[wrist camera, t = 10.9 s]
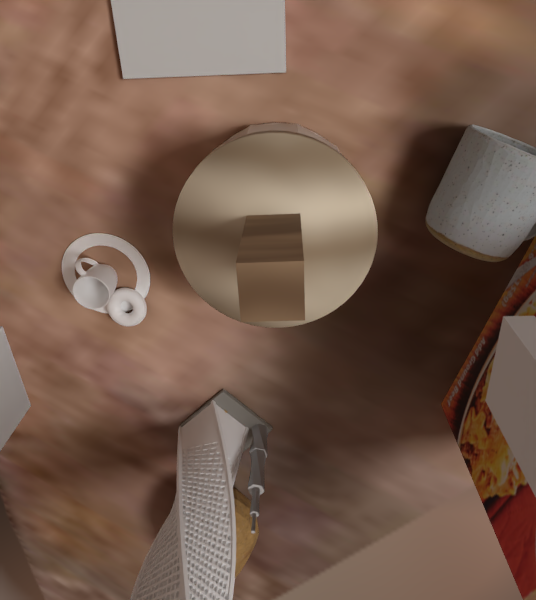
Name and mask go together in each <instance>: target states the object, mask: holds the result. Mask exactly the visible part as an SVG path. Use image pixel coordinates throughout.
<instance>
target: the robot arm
mask: <svg viewBox="0 0 536 600" xmlns="http://www.w3.org/2000/svg"><path fill="white" fill-rule="evenodd" d="M485 401H486V403H487V405H488V407H489V409H490V410H491V412H492V414H493V416H494V418H495V420H496V422H497V424H498V426H499V428H500V430H501V432H502V434H503V436H504V437H505V439H506V441H507V443H508V445H509V447H510V449H511V451H512V453H513V455H514V457H515V459H516V461H517V462H518V464H519V466H520V468H521V470H522V472H523V474H524V476H525V478H526V480H527V482H528V484H529V486H530V488H531V489H532V491H533V493H534V495H535V497H536V317H535V316H503V320H502V324H501V329H500V334H499V339H498V343H497V348H496V353H495V357H494V362H493V367H492V372H491V376H490V381H489V386H488V391H487V395H486V400H485ZM30 406H31V405H30V402H29V399H28V396H27V393H26V391H25V388H24V385H23V382H22V379H21V377H20V374H19V371H18V368H17V365H16V363H15V360H14V357H13V354H12V351H11V349H10V346H9V343H8V340H7V337H6V335H5V332H4V329H3V326H0V451H1V449H2V448H3V446H4V445H5V443H6V442H7V440H8V439H9V437H10V436H11V434H12V433H13V431H14V430H15V428H16V427H17V425H18V424H19V422H20V421H21V420H22V418H23V417H24V415H25V414H26V412H27V411H28V409H29V408H30Z"/></svg>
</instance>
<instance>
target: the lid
mask: <svg viewBox="0 0 536 600" xmlns="http://www.w3.org/2000/svg"><path fill="white" fill-rule="evenodd" d="M172 231H173V244H174V248H175V253H176V257H177V260H178V262H179V265H180V268H181V270H182V272H183V274H184V275H185V277H186V279H187V280H188V282H189V283H190V285H191V286H192V288H193V289H194V290H195V291H196V292H197V293H198V295H199V296H200V297H201V298H202V299H203V300H205V301H206V302H207V303H208V304H209V305H210V306H212V307H213V308H215V309H216V310H218V311H219V312H220V313H222V314H224V315H226V316H228V317H230V318H232V319H235V320H237V321H240V322H242V323H246V324H250V325H254V326H261V327H272V328H281V327H292V326H297V325H302V324H305V323H308V322H312V321H315V320H317V319H319V318H321V317H323V316H326V315H327V314H329V313H331V312H332V311H334V310H336V309H337V308H338V307H339V306H341V305H342V304H343V303H345V302H346V301H347V300H348V299H349V298H350V297H351V296H352V295H353V294H354V293H355V291H356V290H357V289H358V288H359V286H360V285H361V284H362V282H363V280H364V279H365V277H366V275H367V274H368V272H369V269H370V267H371V264H372V262H373V259H374V255H375V251H376V246H377V238H378V223H377V217H376V210H375V207H374V204H373V201H372V197H371V195H370V193H369V191H368V189H367V187H366V185H365V183H364V181H363V179H362V178H361V176H360V175H359V173H358V172H357V170H356V169H355V168H354V167H353V166H352V164H351V163H350V162H349V161H348V160H347V159H346V158H345V157H344V156H342V155H341V154H340V153H339V152H338V151H337V150H335V149H334V148H332V147H330V146H329V145H327V144H326V143H324V142H322V141H320V140H317V139H315V138H313V137H310V136H307V135H304V134H300V133H296V132H290V131H276V130H269V131H260V132H254V133H250V134H246V135H242V136H240V137H237V138H235V139H233V140H230V141H228V142H226V143H225V144H223V145H221V146H220V147H218V148H216V149H215V150H214V151H213V152H211V153H210V154H209V155H208V156H206V157H205V158H204V159H203V161H202V162H201V163H200V164H199V165H198V166H197V167H196V168H195V170H194V171H193V173H192V174H191V175H190V177H189V178H188V180H187V181H186V183H185V185H184V187H183V189H182V191H181V192H180V195H179V198H178V201H177V203H176V207H175V212H174V217H173V230H172Z"/></svg>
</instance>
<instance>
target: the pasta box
mask: <svg viewBox="0 0 536 600" xmlns="http://www.w3.org/2000/svg"><path fill="white" fill-rule="evenodd" d="M503 316H535V317H536V236H535V237H534V239H533V241H532V243H531V245H530V246H529V248H528V250H527V252H526V254H525V255H524V257H523V259H522V261H521V262H520V264H519V266H518V268H517V270H516V271H515V273H514V275H513V277H512V279H511V280H510V282H509V284H508V286H507V287H506V289H505V291H504V293H503V295H502V296H501V298H500V300H499V302H498V304H497V305H496V307H495V309H494V311H493V312H492V314H491V316H490V318H489V320H488V321H487V323H486V325H485V327H484V329H483V330H482V332H481V334H480V336H479V337H478V339H477V341H476V343H475V345H474V346H473V348H472V350H471V352H470V354H469V355H468V357H467V359H466V361H465V362H464V364H463V366H462V368H461V370H460V371H459V373H458V375H457V377H456V379H455V380H454V382H453V384H452V386H451V387H450V389H449V391H448V393H447V395H446V396H445V398H444V400H443V402H442V404H441V406H442V408H443V410H444V413H445V415H446V417H447V420H448V422H449V425H450V427H451V429H452V432H453V434H454V436H455V439H456V441H457V444H458V446H459V448H460V451H461V453H462V455H463V458H464V460H465V463H466V465H467V467H468V470H469V472H470V474H471V477H472V479H473V482H474V484H475V486H476V489H477V491H478V493H479V496H480V498H481V500H482V503H483V505H484V508H485V510H486V513H487V515H488V517H489V520H490V522H491V524H492V526H493V529H494V532H495V534H496V536H497V538H498V541H499V543H500V546H501V548H502V551H503V553H504V555H505V558H506V560H507V562H508V565H509V567H510V569H511V572H512V574H513V577H514V579H515V581H516V584H517V586H518V589H519V591H520V593H521V596H522V598H523V600H536V497H535V495H534V493H533V491H532V489H531V488H530V486H529V484H528V482H527V480H526V478H525V476H524V474H523V472H522V470H521V468H520V466H519V464H518V462H517V461H516V459H515V457H514V455H513V453H512V451H511V449H510V447H509V445H508V443H507V441H506V439H505V437H504V436H503V434H502V432H501V430H500V428H499V426H498V424H497V422H496V420H495V418H494V416H493V414H492V412H491V410H490V409H489V407H488V405H487V403H486V401H485V400H486V395H487V391H488V386H489V381H490V376H491V372H492V367H493V362H494V357H495V353H496V348H497V343H498V339H499V334H500V329H501V324H502V320H503Z"/></svg>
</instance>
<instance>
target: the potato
mask: <svg viewBox="0 0 536 600" xmlns="http://www.w3.org/2000/svg"><path fill="white" fill-rule="evenodd" d="M233 494H234V504H235V518H236V566H235V578H236V577H237V575H238V574H239V573H240V572H241V570H242V568H243V567H244V565H245V563H246V562H247V560H248V558H249V556H250V554H251V552H252V550H253V548H254V546H255V544H256V540H257V537H258V534H259V529H258V523H257V517H256V526H255V533H254V534H253V533H251V527H252V517H251V516H250V508H251V502H250V500H249V499H248V498H246V497H245V496H244V495H243V494H242V493H241V492H239V491H238V490H237V489H236V488H234V487H233Z"/></svg>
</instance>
